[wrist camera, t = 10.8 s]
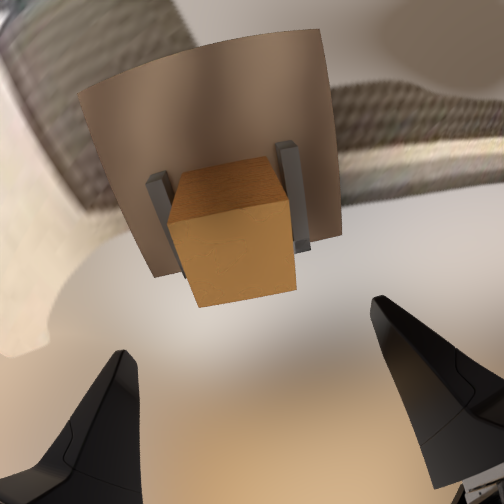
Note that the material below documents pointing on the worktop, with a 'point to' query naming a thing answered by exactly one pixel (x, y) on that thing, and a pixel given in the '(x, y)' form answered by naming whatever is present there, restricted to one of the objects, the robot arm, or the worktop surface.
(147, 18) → the worktop surface
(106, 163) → the dock
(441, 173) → the worktop surface
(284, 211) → the block
